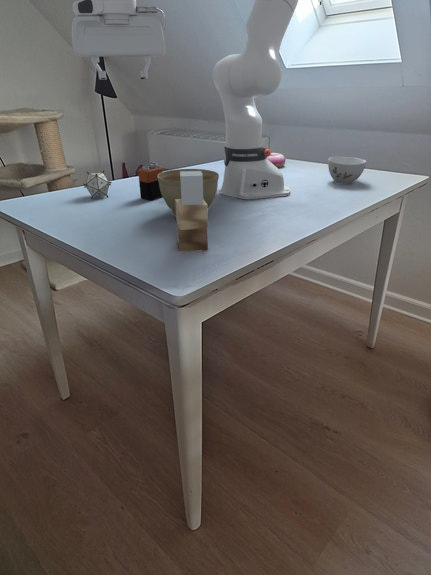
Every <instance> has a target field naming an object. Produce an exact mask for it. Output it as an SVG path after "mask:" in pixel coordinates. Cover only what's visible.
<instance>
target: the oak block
mask: <svg viewBox="0 0 431 575" xmlns="http://www.w3.org/2000/svg"><path fill="white" fill-rule="evenodd" d="M175 202H176V217H175V219H176V223H177V227H178V226H179V228H180V230H189V229H200V228H209V214H208V213H209V210H208V209H209V208H208V205H207V203H206V202H205V201H204V199H203V205H182V200H181V199H175Z"/></svg>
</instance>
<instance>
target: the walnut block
mask: <svg viewBox="0 0 431 575" xmlns="http://www.w3.org/2000/svg"><path fill="white" fill-rule="evenodd" d="M208 228H209V227H208ZM208 228H200V229H189V230H180V228H179V226H178V225H177V241H178V243H177V244H178V252H198V251H199V252H200V251H209V236H208V233H209V231H208Z"/></svg>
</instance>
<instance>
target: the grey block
mask: <svg viewBox="0 0 431 575" xmlns="http://www.w3.org/2000/svg"><path fill="white" fill-rule="evenodd" d="M180 180H181V200H182V205H203V175H202V172H201V171H180Z"/></svg>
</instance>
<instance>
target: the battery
mask: <svg viewBox="0 0 431 575" xmlns="http://www.w3.org/2000/svg"><path fill="white" fill-rule="evenodd" d="M163 170H164V168H163V167H162V166H158V163H151V164H150V166H147V165H146V166H143V167H142V168H139V169H138V170H137V174H138V183H139V184H138V186H139V193H140V199H141V200H145V201H148V202H152V201H154V200H157V199H161V198H163V197H162V194H161V191H160V186H159V181H158V177H157V176H158V174H159V173H162V172H164V171H163Z"/></svg>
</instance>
